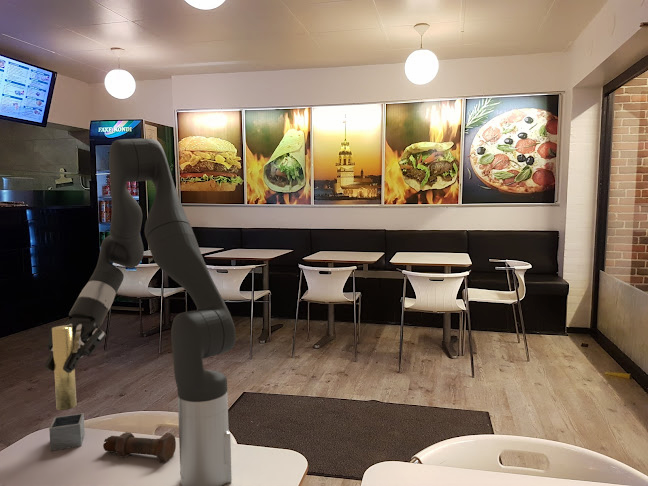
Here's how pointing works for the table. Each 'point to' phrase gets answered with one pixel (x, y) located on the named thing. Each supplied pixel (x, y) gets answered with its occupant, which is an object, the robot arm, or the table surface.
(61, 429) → the open square box
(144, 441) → the bolt
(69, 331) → the tall amber cylinder
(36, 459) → the table surface
